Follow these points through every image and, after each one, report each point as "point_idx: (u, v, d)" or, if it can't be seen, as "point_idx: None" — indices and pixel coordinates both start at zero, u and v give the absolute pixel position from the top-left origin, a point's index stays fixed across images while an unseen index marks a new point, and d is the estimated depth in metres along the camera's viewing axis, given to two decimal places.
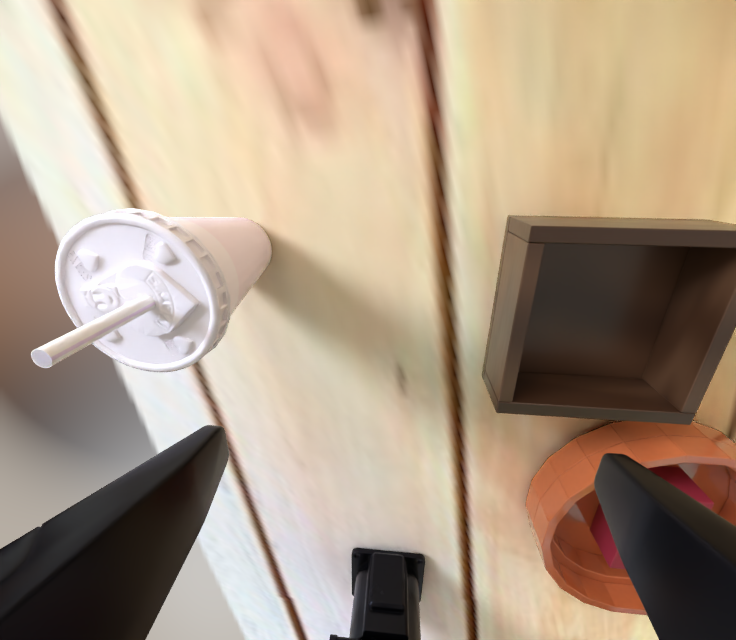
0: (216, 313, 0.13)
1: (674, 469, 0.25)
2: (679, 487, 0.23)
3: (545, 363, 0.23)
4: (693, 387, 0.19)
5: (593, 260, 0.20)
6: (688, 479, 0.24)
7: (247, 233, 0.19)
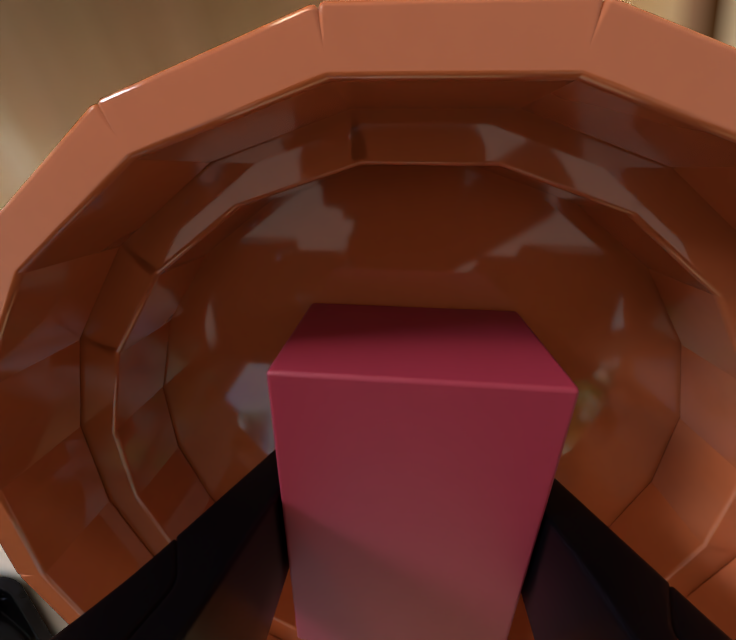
0: None
1: (491, 314, 0.07)
2: (467, 347, 0.06)
3: None
4: None
5: None
6: (519, 331, 0.07)
7: None
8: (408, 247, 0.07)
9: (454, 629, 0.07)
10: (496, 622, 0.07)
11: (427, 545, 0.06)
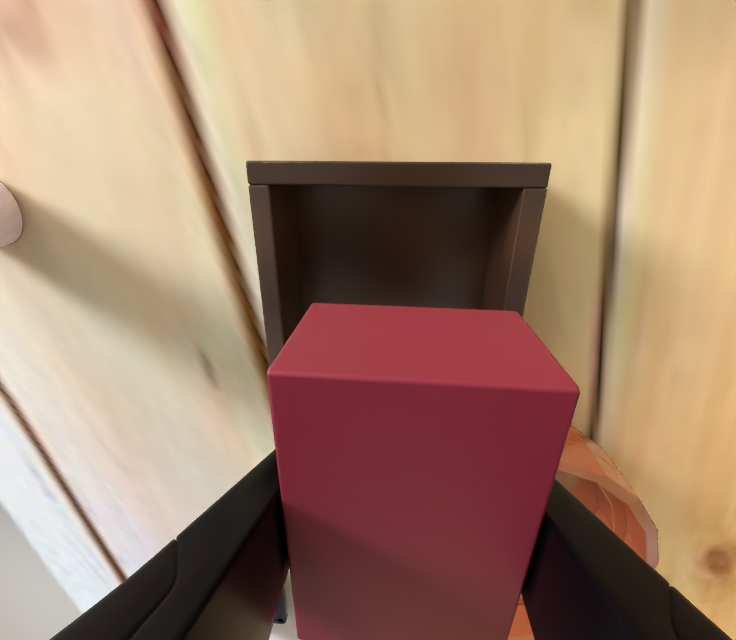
0: None
1: (492, 313, 0.07)
2: (467, 347, 0.06)
3: None
4: None
5: (386, 217, 0.16)
6: (519, 331, 0.07)
7: None
8: None
9: (454, 630, 0.07)
10: (496, 622, 0.07)
11: (427, 545, 0.06)
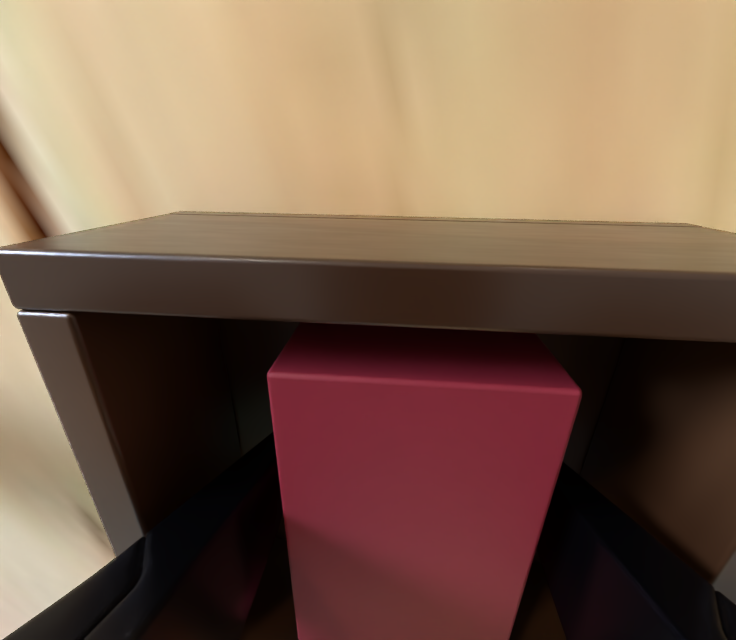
0: None
1: None
2: (469, 349, 0.06)
3: None
4: None
5: None
6: None
7: None
8: None
9: (455, 631, 0.07)
10: (497, 624, 0.07)
11: (428, 547, 0.06)
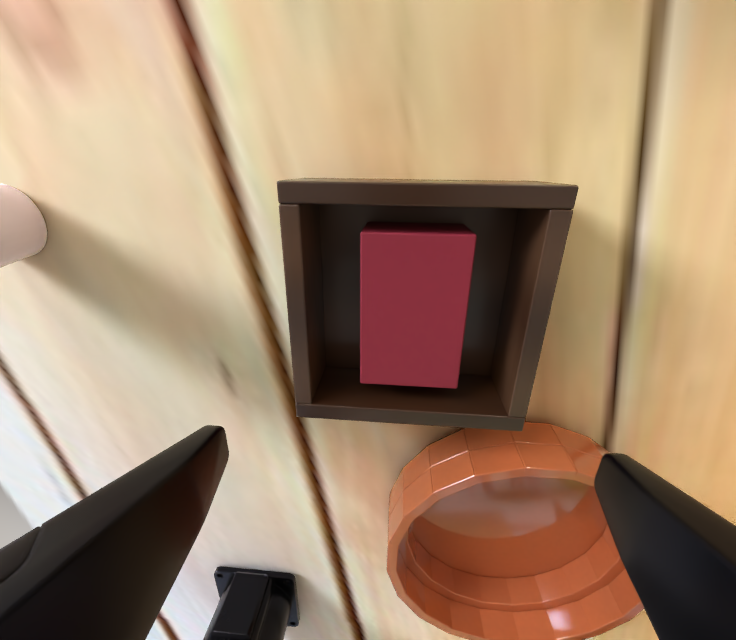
0: None
1: (452, 224, 0.16)
2: (438, 229, 0.15)
3: None
4: (516, 386, 0.15)
5: None
6: (462, 226, 0.15)
7: None
8: None
9: (434, 367, 0.16)
10: (453, 361, 0.16)
11: (422, 315, 0.15)
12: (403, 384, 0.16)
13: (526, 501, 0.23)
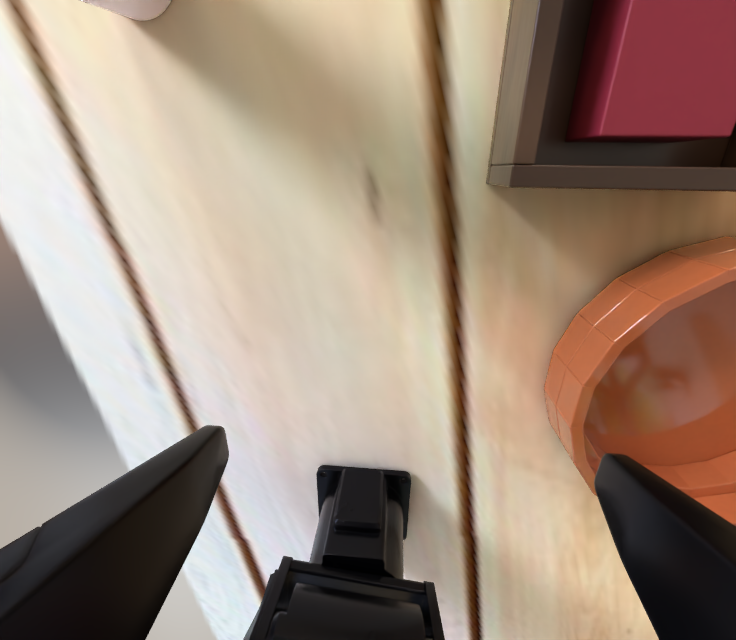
0: None
1: None
2: None
3: (579, 149, 0.16)
4: None
5: None
6: None
7: None
8: (722, 294, 0.18)
9: (709, 101, 0.12)
10: None
11: (715, 11, 0.11)
12: (658, 133, 0.13)
13: (721, 355, 0.19)
